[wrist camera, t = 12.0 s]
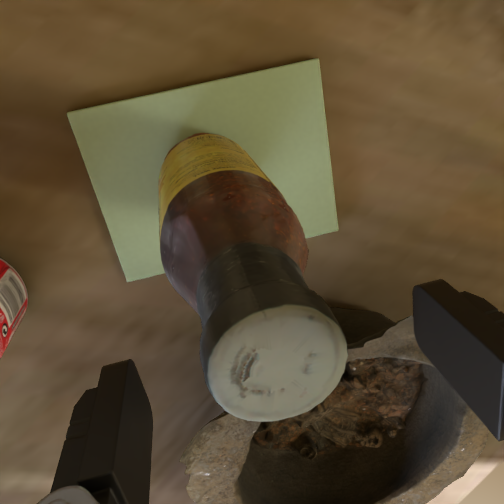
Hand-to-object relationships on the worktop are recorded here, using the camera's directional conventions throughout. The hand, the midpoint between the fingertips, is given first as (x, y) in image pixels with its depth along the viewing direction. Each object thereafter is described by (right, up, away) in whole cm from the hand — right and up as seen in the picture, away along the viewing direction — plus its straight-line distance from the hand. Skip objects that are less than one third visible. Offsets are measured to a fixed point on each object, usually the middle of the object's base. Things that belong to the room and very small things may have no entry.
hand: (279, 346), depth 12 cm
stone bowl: (+6, -10, +28) cm, 30 cm away
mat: (-3, +8, +18) cm, 20 cm away
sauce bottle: (-4, +8, +17) cm, 19 cm away
